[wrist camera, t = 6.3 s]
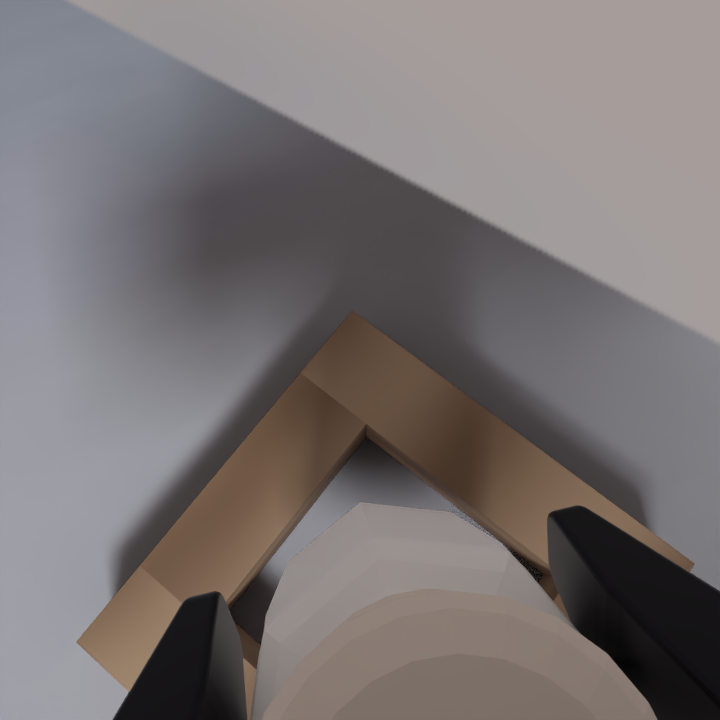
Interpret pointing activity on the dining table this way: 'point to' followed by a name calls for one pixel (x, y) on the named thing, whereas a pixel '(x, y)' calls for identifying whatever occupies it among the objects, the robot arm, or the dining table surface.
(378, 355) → the walnut collar
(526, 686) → the pepper shaker
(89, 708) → the dining table surface
